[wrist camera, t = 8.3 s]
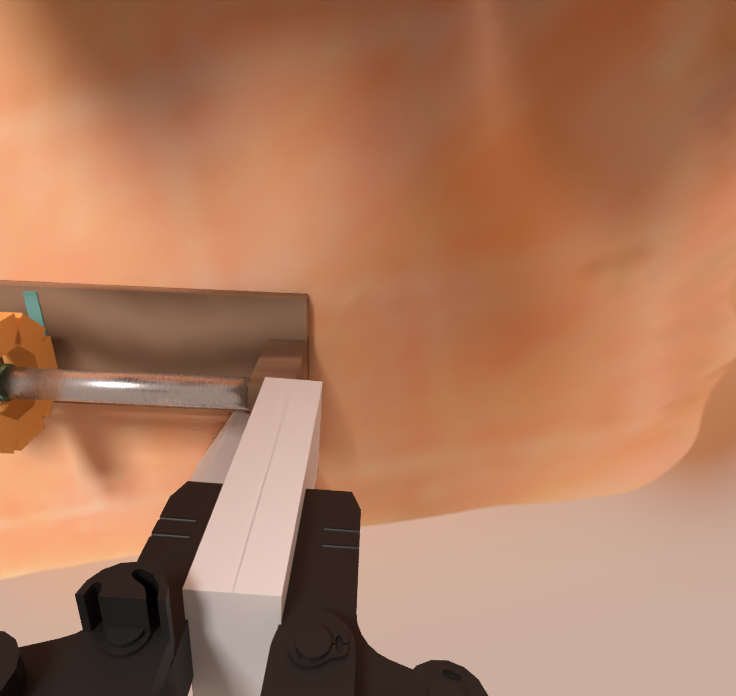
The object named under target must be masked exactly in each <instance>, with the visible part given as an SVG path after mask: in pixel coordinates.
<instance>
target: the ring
mask: <svg viewBox="0 0 736 696" xmlns="http://www.w3.org/2000/svg"><path fill="white" fill-rule="evenodd" d="M45 329H46V328H45V327H43V326H42V325H40V324H39V323H37V322H35V321H34V320H32V319H31V318H29V317H28V316H26V315H25V314H23V313H14V312H0V358H1V357H3V360H4V363H8V364H14V365H15V366H17V367H32V368H54V369H58V366H57V362H56V358H55V353H54V349H53V345H52V341H51V337H50V336H44V333H45ZM52 405H53V401H48V400H26V399H13V400H11V401H8V402H5V401H2V402H1V404H0V453H12V454H13V453H14V450H22V449H23V448H24V447H25V446H26V445H27V444H28V443H29V442H30V441H31V440H32V439H33V438H34V437H35V436H36V435H37V434H38V433H39V432H40V431H41V430H42V429H43V428H44V427H45V426H44V423H43V419H42V417H47V418H49V417H50V413H51V409H52Z"/></svg>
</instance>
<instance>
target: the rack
mask: <svg viewBox="0 0 736 696" xmlns="http://www.w3.org/2000/svg"><path fill="white" fill-rule="evenodd" d="M0 312H14V313H23V314H25V315H26V316H28V317H29V318H31V319H32V320H34V321H35V322H37V323H39V324H40V325H42V326H43V327H45V328H46V329H45V333H44V336H50V337H51V341H52V345H53V349H54V353H55V358H56V362H57V366H58V369H76V370H98V371H120V372H142V373H164V374H186V375H208V376H231V377H250V379H249V382H248V384H247V387H248V402H249V410H247V409H225V408H203V407H181V406H159V405H137V404H115V403H93V402H70V401H53V402H63V403H85V404H107V405H129V406H152V407H174V408H196V409H218V410H240V411H249V417H250V415H251V412H252V410H253V407H254V405H255V402H256V400H257V397H258V395H259V392H260V389H261V387H262V384H263V382H264V379H265V377H272V378H285V379H297V380H309V350H308V294H293V293H271V292H249V291H227V290H205V289H182V288H160V287H138V286H116V285H94V284H72V283H50V282H28V281H5V280H0ZM0 363H4V360H3V357H1V358H0Z"/></svg>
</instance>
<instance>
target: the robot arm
mask: <svg viewBox="0 0 736 696" xmlns="http://www.w3.org/2000/svg"><path fill="white" fill-rule="evenodd" d="M322 386H323V382H322V381H310V380H297V379H285V378H272V377H265V379H264V382H263V384H262V387H261V389H260V392H259V395H258V397H257V400H256V402H255V405H254V407H253V410H252V412H251V415H250V418H249V420H248V423H247V425H246V428H245V430H244V433H243V435H242V438H241V441H240V443H239V446H238V448H237V451H236V453H235V456H234V458H233V461H232V464H231V466H230V469H229V471H228V474H227V476H226V479H225V481H224V484H220V483H207V482H194V481H187V482H186V483H185V484H184V485H183V486H182V487H181V488H179V489H178V490H177V491H176V492H175V493H174V494H173V495H171V496H170V498H169V500H168V502H167V504H166V505H165V507H164V509H163V511H162V513H161V515H160V520H158V521H157V523H156V525H155V527H154V529H153V531H152V535H151V537H149V539H148V541H147V543H146V545H145V547H144V549H143V551H142V553H141V555H140V557H139V559H138V561H137V562H129V563H120V564H117V565H114V566H112V567H109V568H106V569H103V570H102V571H100V572H99V573H97V574H96V575H94V576H93V577H91V578H90V579H88V580H87V581H86V582H85V583H84V584H83V586H82V587H81V588H80V589H79V590H78V591H77V593H76V594H75V597H76V601H77V605H78V610H79V614H80V619H81V623H82V627H83V630H82V631H80V632H78V633H76V634H73V635H69V636H66V637H63V638H59V639H55V640H50V641H46V642H42V643H37V644H32V645H28V646H23V647H19V648H18V645H17V642H16V639H14V638H13V637H12V636H10V635H9V634H7V633H6V632H3V631H0V696H188V693H189V690H190V686H191V683H192V690H193V696H488V695H487V693H486V691H485V690H484V688H483V686H482V685H481V683H480V681H479V680H478V679H477V678H476V677H475V676H474V675H473V674H471V673H470V672H469V671H468V670H467V669H465V668H464V667H462V666H459V665H457V664H455V663H452V662H450V661H445V660H430V661H428V662H425V663H423V664H420V665H417V666H416V667H415V668H414V669H410V668H408V667H406V666H403V665H400V664H398V663H396V662H394V661H391V660H389V659H387V658H385V657H384V656H382V655H380V654H378V653H377V652H376V651H375V650H374V649H373V648H372V647H370V646H369V645H368V644H367V642H366V640H365V639H364V638H363V636H362V635H361V632H360V629H359V627H358V624H357V615H356V608H357V586H358V563H359V561H358V560H359V540H360V517H361V509H360V507H359V505H358V503H357V501H356V499H355V497H354V495H353V493H352V492H344V491H331V490H318V489H315V484H316V477H317V471H318V465H319V445H320V425H321V406H322Z"/></svg>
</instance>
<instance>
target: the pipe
mask: <svg viewBox="0 0 736 696" xmlns="http://www.w3.org/2000/svg"><path fill="white" fill-rule="evenodd" d="M249 379H250V377H231V376H208V375H186V374H164V373H142V372H120V371H98V370H76V369H54V368H32V367H17V366H15V365H14V364H8V363H0V401H5V402H8V401H11V400H13V399H26V400H48V401H70V402H93V403H115V404H137V405H159V406H181V407H203V408H225V409H247V410H249V402H248V387H247V384H248V382H249Z"/></svg>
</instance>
